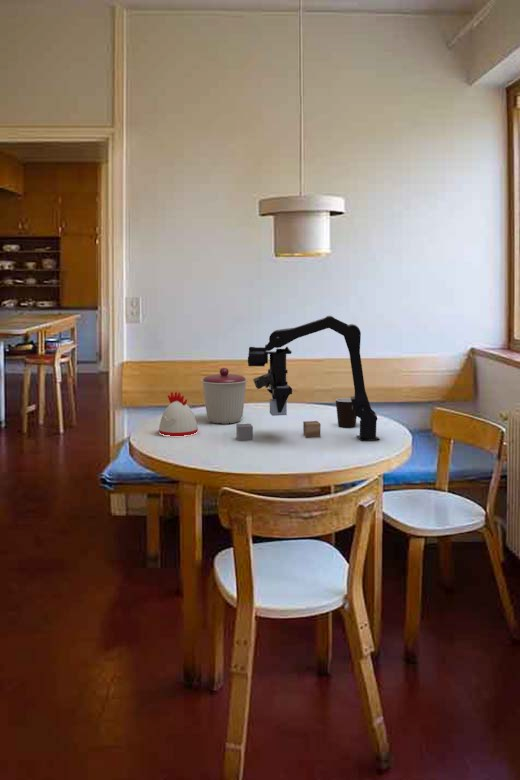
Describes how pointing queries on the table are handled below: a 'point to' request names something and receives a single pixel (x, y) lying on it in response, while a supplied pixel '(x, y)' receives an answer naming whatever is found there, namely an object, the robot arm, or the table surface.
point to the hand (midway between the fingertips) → (278, 411)
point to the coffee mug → (345, 413)
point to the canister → (224, 396)
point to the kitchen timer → (178, 418)
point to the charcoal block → (244, 432)
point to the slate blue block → (274, 408)
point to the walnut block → (311, 429)
